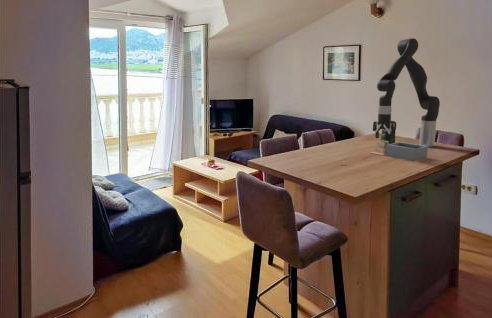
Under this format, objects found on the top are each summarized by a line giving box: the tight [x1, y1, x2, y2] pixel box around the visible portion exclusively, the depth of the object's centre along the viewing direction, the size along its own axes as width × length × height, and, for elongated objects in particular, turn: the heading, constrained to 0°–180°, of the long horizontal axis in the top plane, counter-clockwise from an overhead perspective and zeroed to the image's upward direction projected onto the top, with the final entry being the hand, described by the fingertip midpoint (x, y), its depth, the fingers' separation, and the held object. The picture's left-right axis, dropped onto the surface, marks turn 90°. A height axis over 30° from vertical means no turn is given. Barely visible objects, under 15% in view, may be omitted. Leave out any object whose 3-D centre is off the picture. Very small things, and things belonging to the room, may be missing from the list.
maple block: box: [376, 139, 389, 154], centre depth 256 cm, size 5×5×7 cm
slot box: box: [386, 141, 429, 162], centre depth 246 cm, size 14×18×7 cm
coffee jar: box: [380, 120, 397, 144], centre depth 270 cm, size 10×8×19 cm
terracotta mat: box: [369, 151, 387, 157], centre depth 257 cm, size 12×9×1 cm
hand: (383, 139), depth 255 cm, fingers open, 8 cm apart
